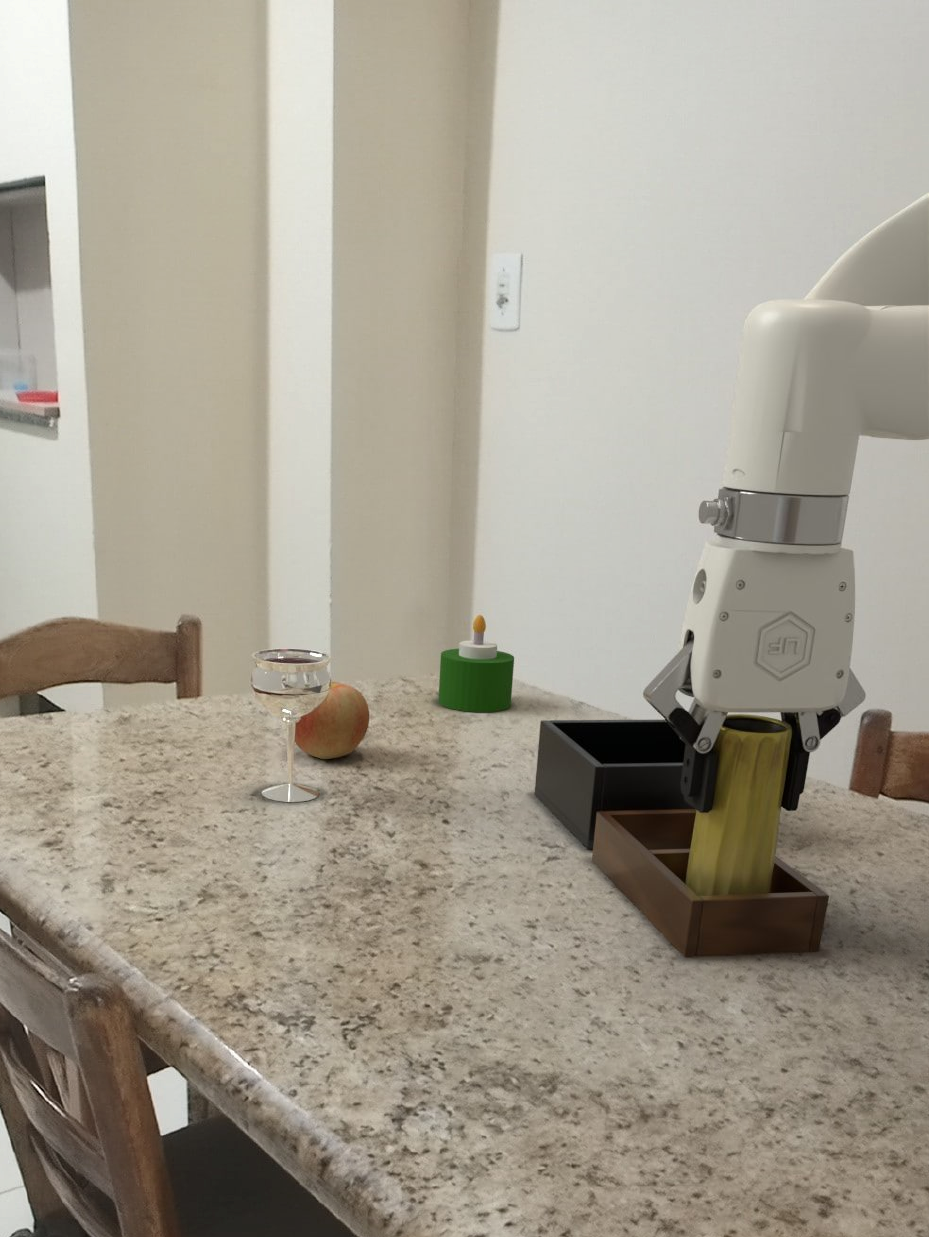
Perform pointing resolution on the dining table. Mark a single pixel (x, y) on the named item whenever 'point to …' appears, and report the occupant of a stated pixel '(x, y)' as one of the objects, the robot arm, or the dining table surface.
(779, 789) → the vase
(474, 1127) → the dining table surface
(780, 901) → the divided wooden tray
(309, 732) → the apple
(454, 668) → the candle
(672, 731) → the black open box
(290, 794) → the wineglass
